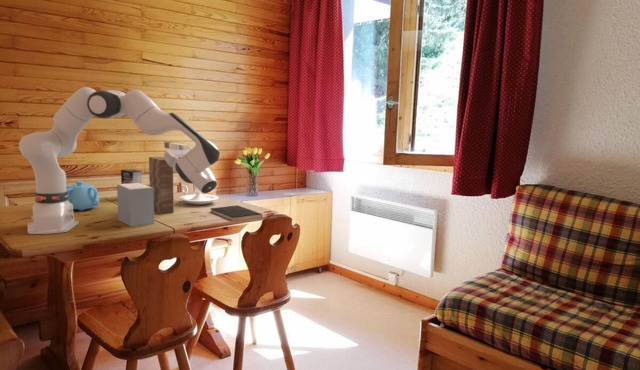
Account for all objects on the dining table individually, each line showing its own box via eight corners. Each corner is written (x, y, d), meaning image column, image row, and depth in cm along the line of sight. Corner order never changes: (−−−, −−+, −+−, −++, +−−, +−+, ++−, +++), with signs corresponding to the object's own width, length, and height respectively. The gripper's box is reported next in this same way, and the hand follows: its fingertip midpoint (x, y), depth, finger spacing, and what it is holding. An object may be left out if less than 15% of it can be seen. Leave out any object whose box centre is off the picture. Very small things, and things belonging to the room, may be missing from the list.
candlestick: (196, 197, 270) (196, 148, 266) (226, 203, 256) (226, 152, 251) (166, 202, 254) (165, 150, 250) (196, 208, 239) (195, 154, 235)
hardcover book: (232, 222, 216) (232, 217, 216) (210, 212, 234) (210, 208, 233) (262, 218, 226) (262, 213, 226) (238, 209, 244) (238, 205, 243)
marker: (188, 151, 206) (188, 145, 205) (183, 151, 204) (183, 145, 204) (169, 147, 221) (169, 142, 220) (164, 147, 219) (164, 142, 218)
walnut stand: (173, 212, 228) (172, 159, 224) (161, 214, 224) (160, 160, 220) (161, 207, 239) (160, 156, 235) (150, 209, 235) (149, 157, 231)
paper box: (154, 223, 206) (153, 187, 203) (130, 226, 199) (129, 189, 197) (140, 216, 218) (139, 182, 215) (118, 219, 211) (117, 184, 209)
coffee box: (121, 199, 258) (120, 169, 255) (130, 197, 264) (130, 168, 261) (132, 200, 254) (132, 171, 251) (142, 199, 259) (141, 170, 257)
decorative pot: (60, 213, 220) (58, 184, 217) (63, 206, 234) (61, 179, 232) (98, 211, 226) (97, 183, 224) (99, 204, 241) (98, 178, 239)
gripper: (218, 158, 205) (205, 140, 213) (173, 159, 192) (161, 140, 200) (214, 169, 208) (201, 151, 216) (170, 172, 195) (158, 153, 203)
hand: (181, 146), depth 208 cm, fingers closed on marker, 3 cm apart
